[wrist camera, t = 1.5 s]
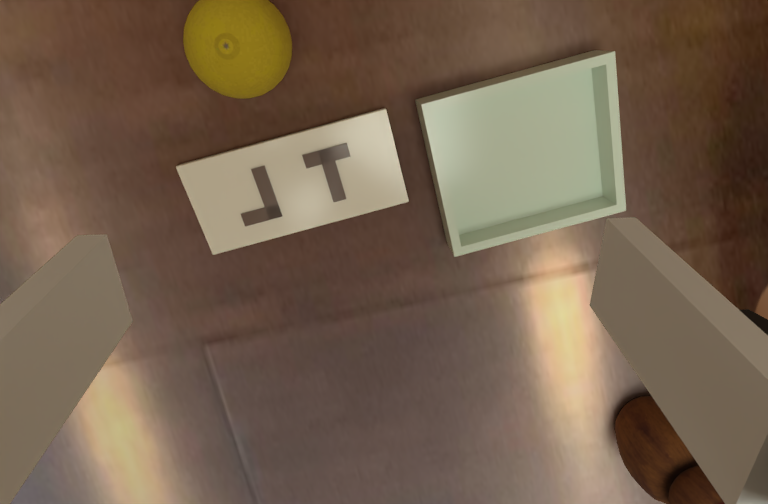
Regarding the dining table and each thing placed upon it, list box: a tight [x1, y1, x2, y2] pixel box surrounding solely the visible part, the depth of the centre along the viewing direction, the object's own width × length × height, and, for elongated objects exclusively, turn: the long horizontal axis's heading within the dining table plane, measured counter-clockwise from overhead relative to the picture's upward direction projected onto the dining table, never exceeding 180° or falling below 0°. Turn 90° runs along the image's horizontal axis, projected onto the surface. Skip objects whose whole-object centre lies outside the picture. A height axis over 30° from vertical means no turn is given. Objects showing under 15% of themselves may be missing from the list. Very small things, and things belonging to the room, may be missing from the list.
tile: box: [176, 108, 409, 255], centre depth 35 cm, size 14×6×1 cm, turn 104°
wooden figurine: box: [615, 396, 725, 504], centre depth 39 cm, size 7×6×15 cm
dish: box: [415, 50, 626, 257], centre depth 35 cm, size 12×10×3 cm
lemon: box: [183, 0, 292, 98], centre depth 28 cm, size 6×6×8 cm
